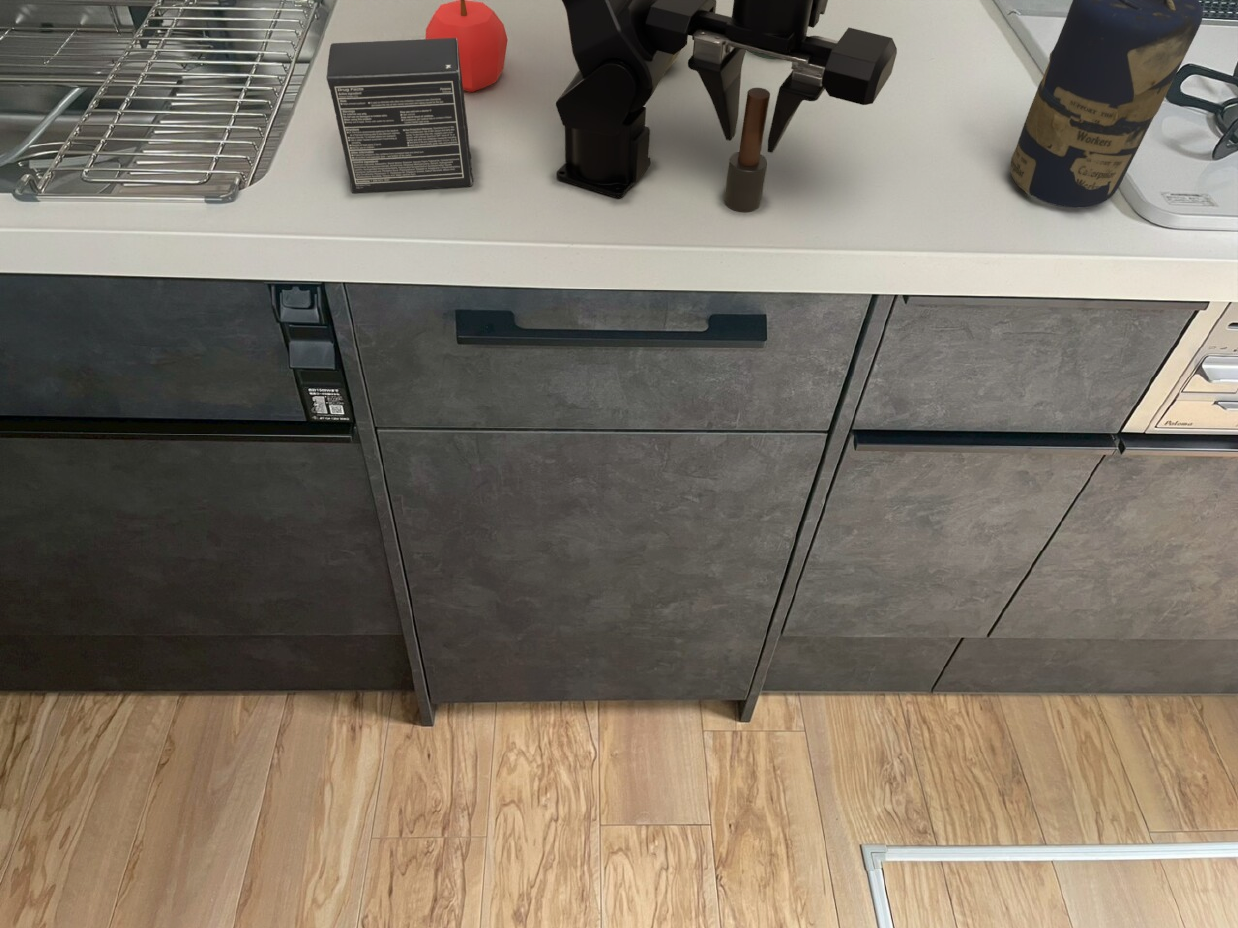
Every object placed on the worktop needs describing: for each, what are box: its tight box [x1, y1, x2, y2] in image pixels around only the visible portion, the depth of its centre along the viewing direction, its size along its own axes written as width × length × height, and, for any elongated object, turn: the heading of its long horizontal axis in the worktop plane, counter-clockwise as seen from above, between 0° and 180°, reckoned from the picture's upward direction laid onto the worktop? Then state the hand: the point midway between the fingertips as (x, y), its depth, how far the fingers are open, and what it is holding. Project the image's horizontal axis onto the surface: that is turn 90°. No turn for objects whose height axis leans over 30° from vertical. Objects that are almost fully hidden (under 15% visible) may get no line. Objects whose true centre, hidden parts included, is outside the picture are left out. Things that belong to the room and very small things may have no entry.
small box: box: [325, 38, 474, 194], centre depth 79 cm, size 11×6×10 cm, turn 98°
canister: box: [1009, 0, 1204, 209], centre depth 78 cm, size 10×10×18 cm
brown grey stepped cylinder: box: [723, 87, 771, 213], centre depth 78 cm, size 3×3×10 cm
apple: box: [424, 0, 509, 93], centre depth 91 cm, size 8×8×8 cm
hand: (750, 144), depth 78 cm, fingers open, 3 cm apart
